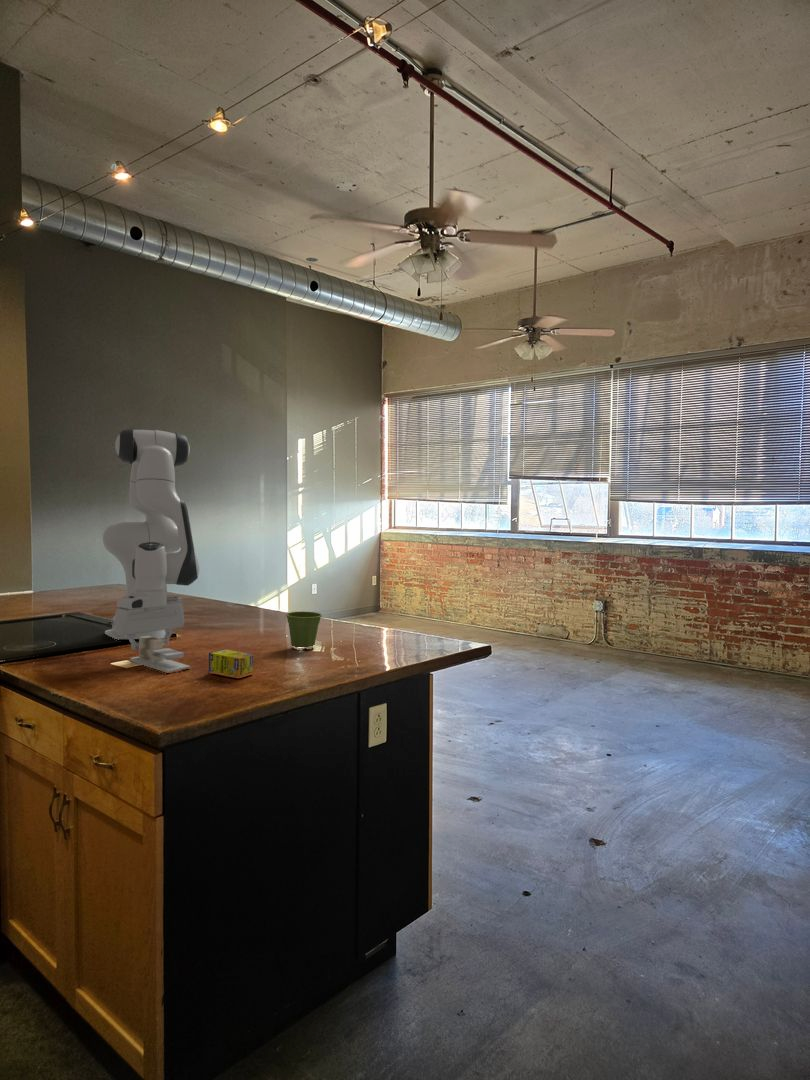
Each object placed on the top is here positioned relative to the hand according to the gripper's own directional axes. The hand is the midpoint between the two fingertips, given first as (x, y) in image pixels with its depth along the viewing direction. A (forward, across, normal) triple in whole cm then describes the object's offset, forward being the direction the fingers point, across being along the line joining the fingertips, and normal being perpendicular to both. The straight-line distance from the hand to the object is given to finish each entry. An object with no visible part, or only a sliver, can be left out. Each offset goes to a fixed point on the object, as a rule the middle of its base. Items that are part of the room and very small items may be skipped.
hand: (150, 646), depth 199 cm
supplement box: (+2, -7, +22) cm, 23 cm away
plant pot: (+5, -44, +16) cm, 48 cm away
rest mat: (+5, 0, +5) cm, 7 cm away
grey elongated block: (+4, 0, +5) cm, 6 cm away
